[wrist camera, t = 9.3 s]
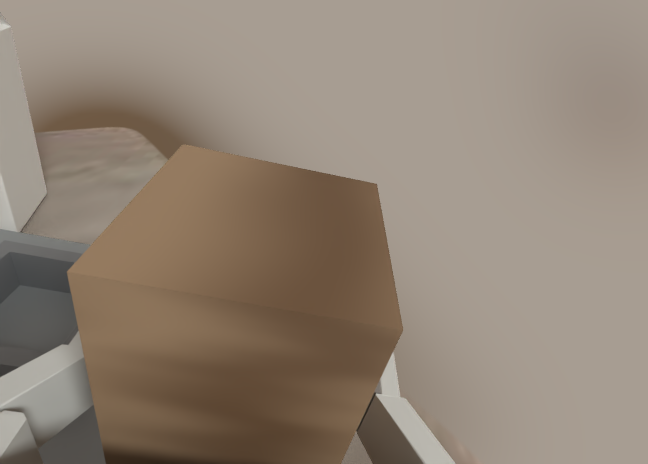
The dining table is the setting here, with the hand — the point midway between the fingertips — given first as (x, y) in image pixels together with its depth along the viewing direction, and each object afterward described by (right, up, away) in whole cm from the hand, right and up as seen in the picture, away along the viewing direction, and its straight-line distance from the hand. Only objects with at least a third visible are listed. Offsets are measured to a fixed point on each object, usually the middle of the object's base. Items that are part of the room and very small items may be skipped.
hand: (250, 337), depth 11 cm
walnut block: (-2, -6, +3) cm, 7 cm away
